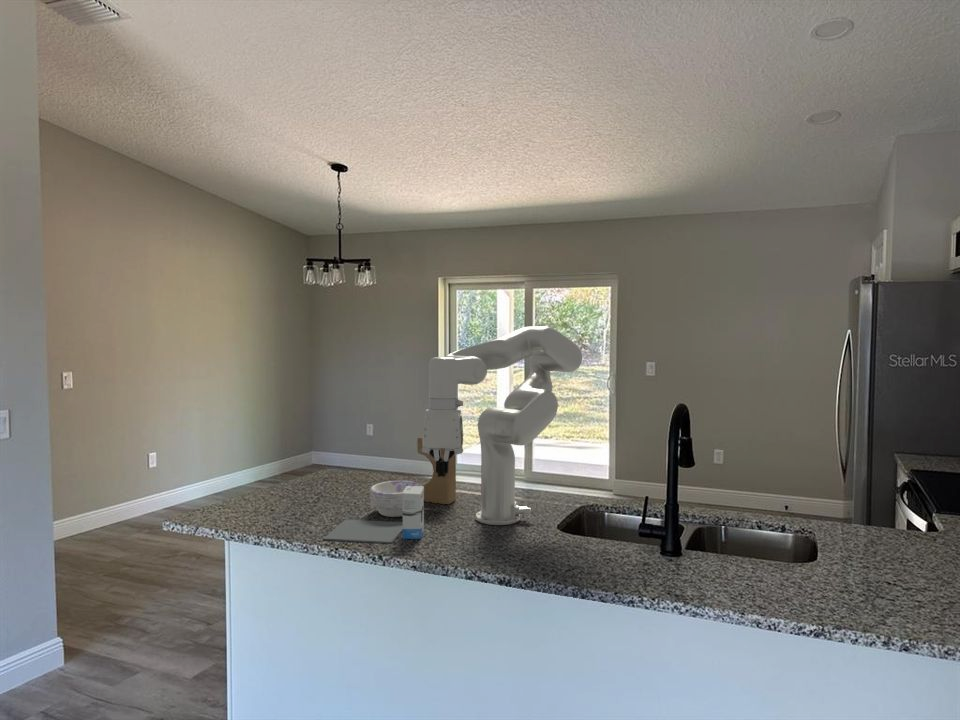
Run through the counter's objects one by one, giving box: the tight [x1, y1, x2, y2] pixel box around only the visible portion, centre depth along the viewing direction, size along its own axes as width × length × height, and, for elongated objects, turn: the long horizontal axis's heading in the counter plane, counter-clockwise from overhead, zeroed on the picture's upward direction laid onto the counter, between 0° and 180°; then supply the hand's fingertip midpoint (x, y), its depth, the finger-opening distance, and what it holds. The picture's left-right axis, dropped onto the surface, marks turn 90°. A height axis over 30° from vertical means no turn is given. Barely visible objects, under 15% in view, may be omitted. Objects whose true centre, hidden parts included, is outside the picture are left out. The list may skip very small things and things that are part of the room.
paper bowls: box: [369, 480, 422, 518], centre depth 179 cm, size 15×15×8 cm
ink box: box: [402, 486, 425, 540], centre depth 160 cm, size 8×5×12 cm, turn 179°
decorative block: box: [416, 436, 457, 505], centre depth 191 cm, size 11×6×20 cm, turn 65°
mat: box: [322, 519, 403, 544], centre depth 162 cm, size 18×16×1 cm
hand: (442, 475), depth 158 cm, fingers closed
